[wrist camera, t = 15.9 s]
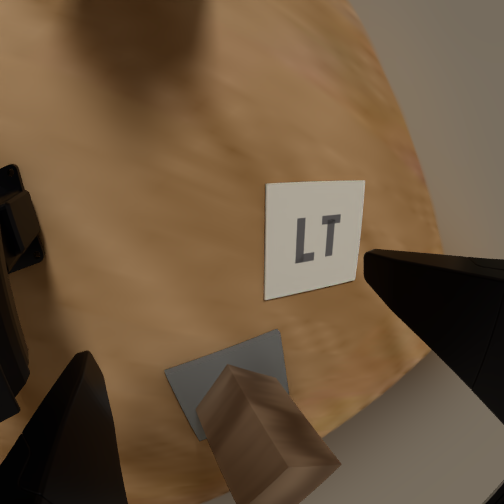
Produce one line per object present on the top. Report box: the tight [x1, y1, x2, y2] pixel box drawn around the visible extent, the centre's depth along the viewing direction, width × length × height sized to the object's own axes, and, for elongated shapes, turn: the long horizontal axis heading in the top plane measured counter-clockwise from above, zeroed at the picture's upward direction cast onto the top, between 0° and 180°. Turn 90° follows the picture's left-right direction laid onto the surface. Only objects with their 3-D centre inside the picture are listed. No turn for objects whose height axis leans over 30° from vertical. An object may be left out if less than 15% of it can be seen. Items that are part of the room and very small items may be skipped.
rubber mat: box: [164, 329, 289, 441], centre depth 27 cm, size 10×10×1 cm
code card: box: [264, 180, 365, 300], centre depth 25 cm, size 9×9×1 cm
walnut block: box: [195, 364, 341, 504], centre depth 23 cm, size 6×6×11 cm
